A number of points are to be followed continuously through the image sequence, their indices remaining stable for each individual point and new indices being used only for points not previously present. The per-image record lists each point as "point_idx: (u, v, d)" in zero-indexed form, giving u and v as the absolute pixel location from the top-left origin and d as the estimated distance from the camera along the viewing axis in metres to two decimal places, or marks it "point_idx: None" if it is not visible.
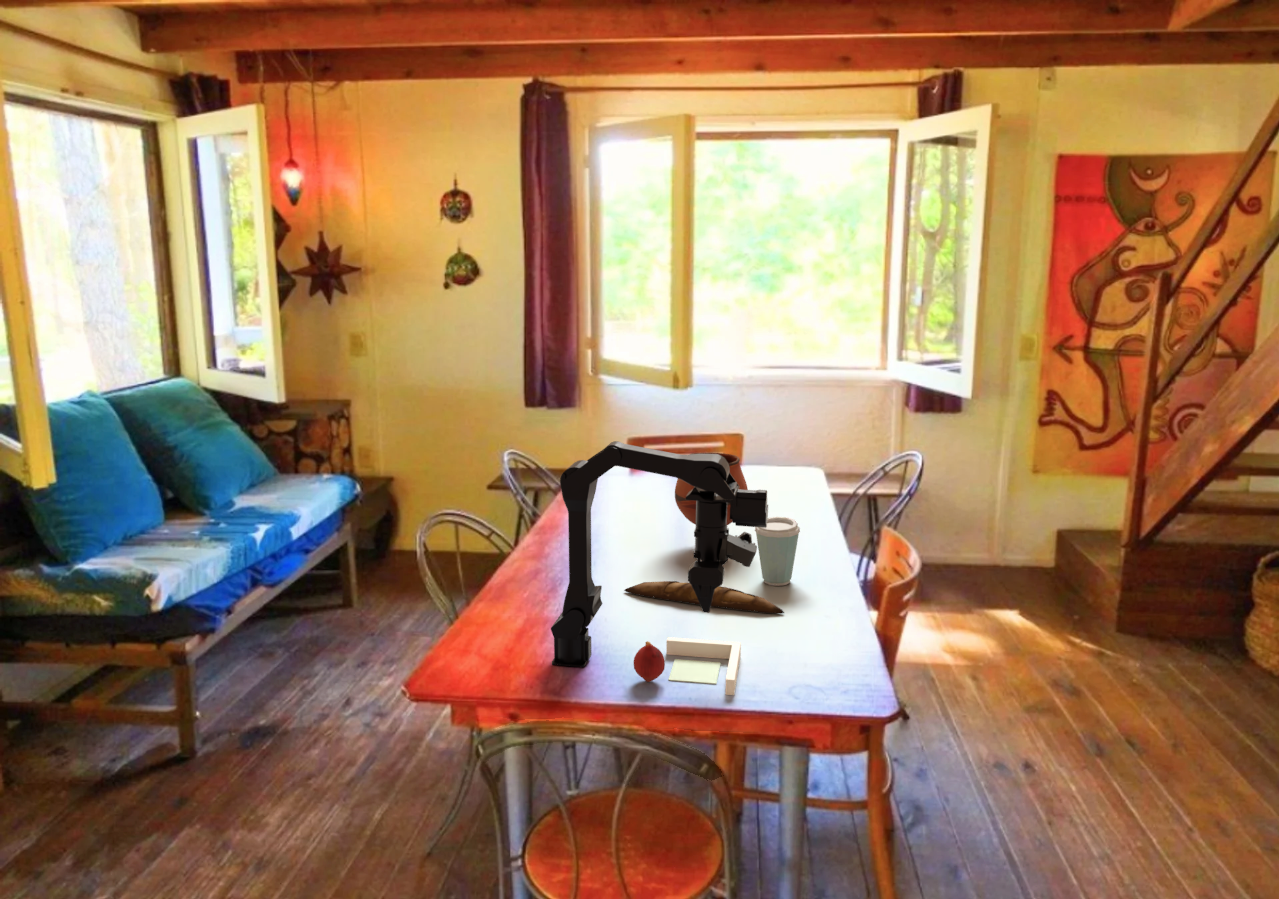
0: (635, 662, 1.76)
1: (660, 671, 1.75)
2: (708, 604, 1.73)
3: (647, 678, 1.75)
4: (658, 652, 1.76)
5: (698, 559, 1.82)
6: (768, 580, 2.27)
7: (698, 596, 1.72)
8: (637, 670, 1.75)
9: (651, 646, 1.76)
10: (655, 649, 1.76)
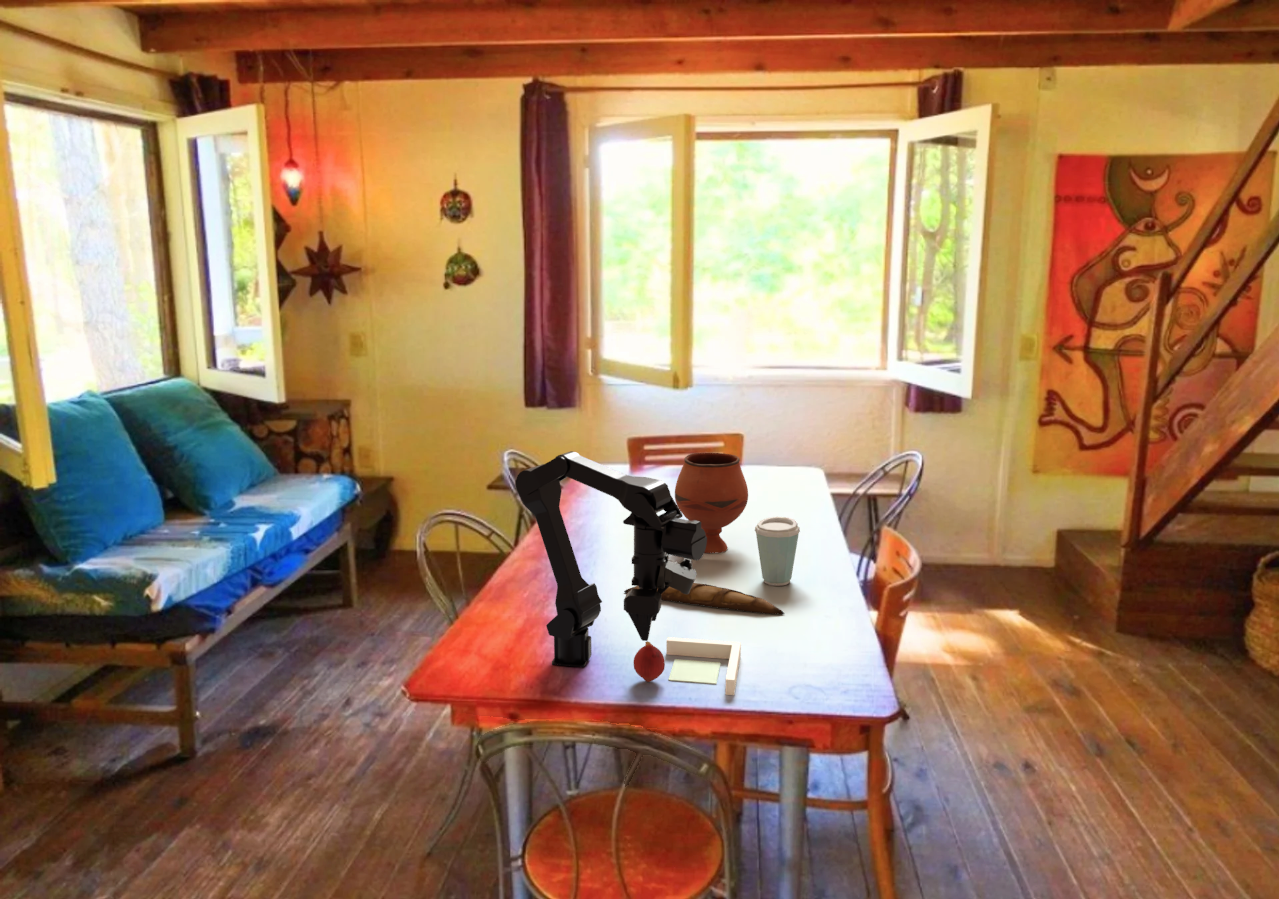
0: (635, 662, 1.76)
1: (660, 671, 1.75)
2: (646, 632, 1.70)
3: (647, 678, 1.75)
4: (658, 652, 1.76)
5: None
6: (768, 580, 2.27)
7: (636, 624, 1.70)
8: (637, 670, 1.75)
9: (651, 646, 1.76)
10: (655, 649, 1.76)
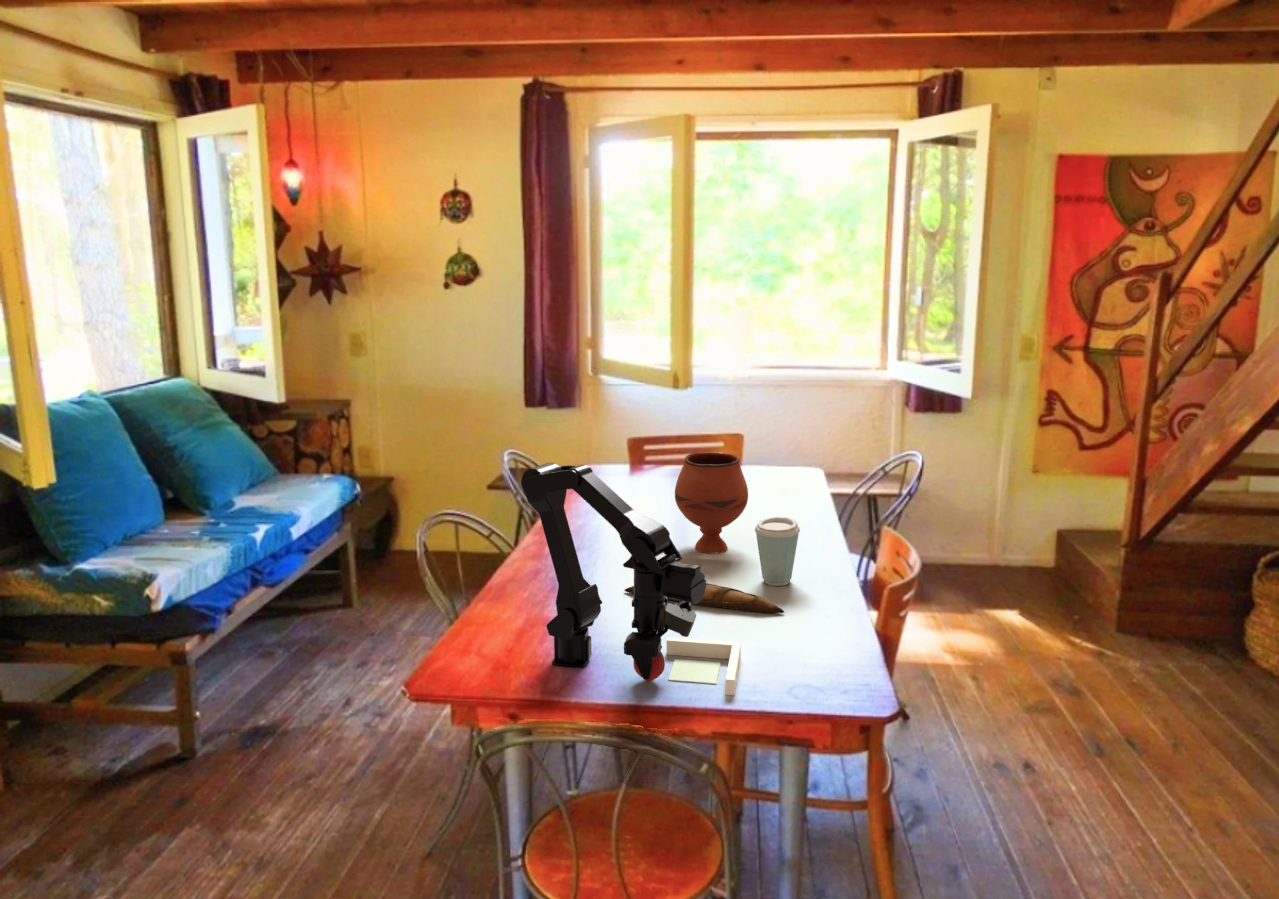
0: None
1: (660, 671, 1.75)
2: (647, 671, 1.73)
3: None
4: None
5: (638, 629, 1.80)
6: (768, 580, 2.27)
7: (637, 663, 1.73)
8: (637, 670, 1.75)
9: None
10: None
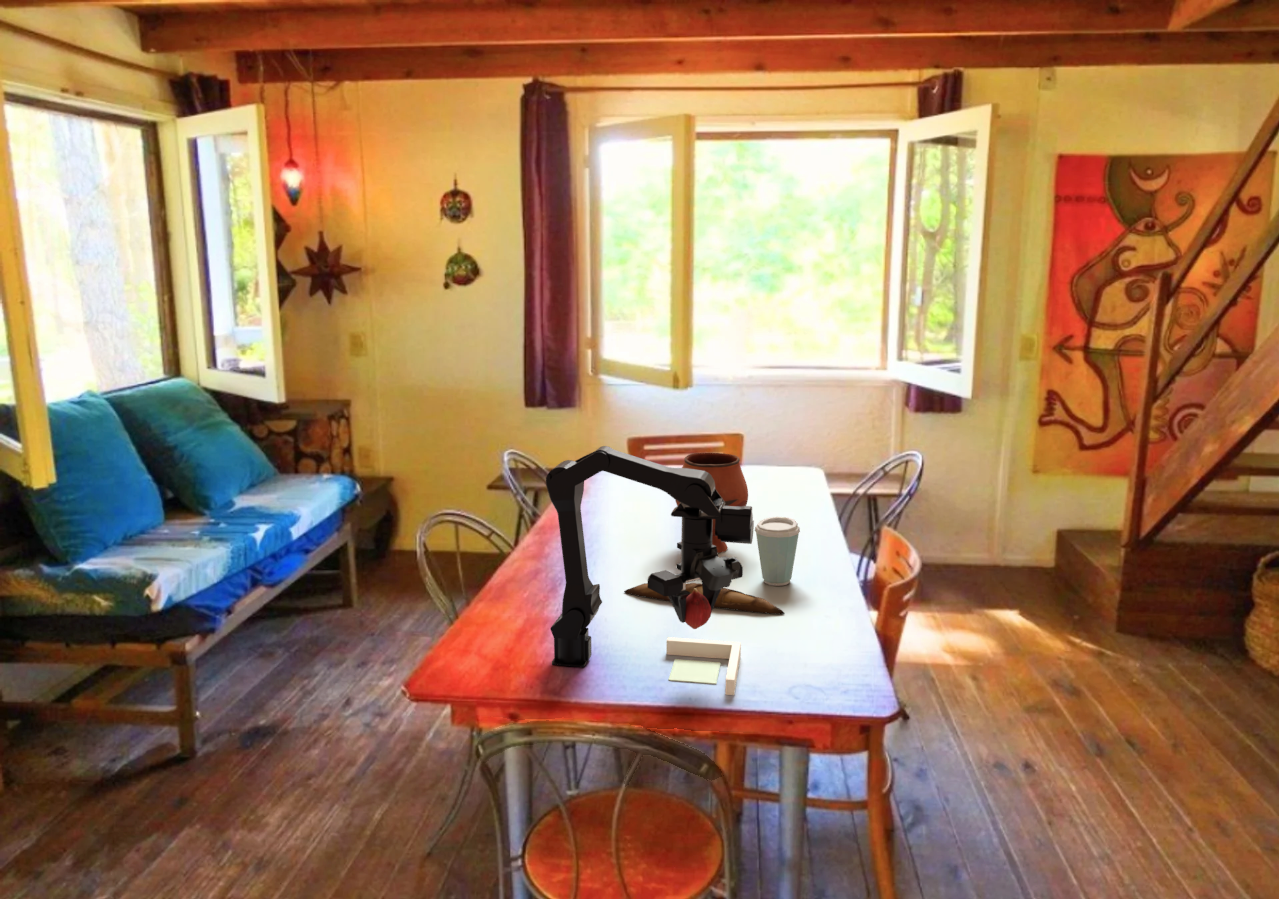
0: None
1: (697, 620, 1.76)
2: (680, 614, 1.76)
3: None
4: (700, 601, 1.77)
5: None
6: (768, 580, 2.27)
7: (672, 603, 1.77)
8: None
9: (696, 593, 1.78)
10: (698, 597, 1.77)
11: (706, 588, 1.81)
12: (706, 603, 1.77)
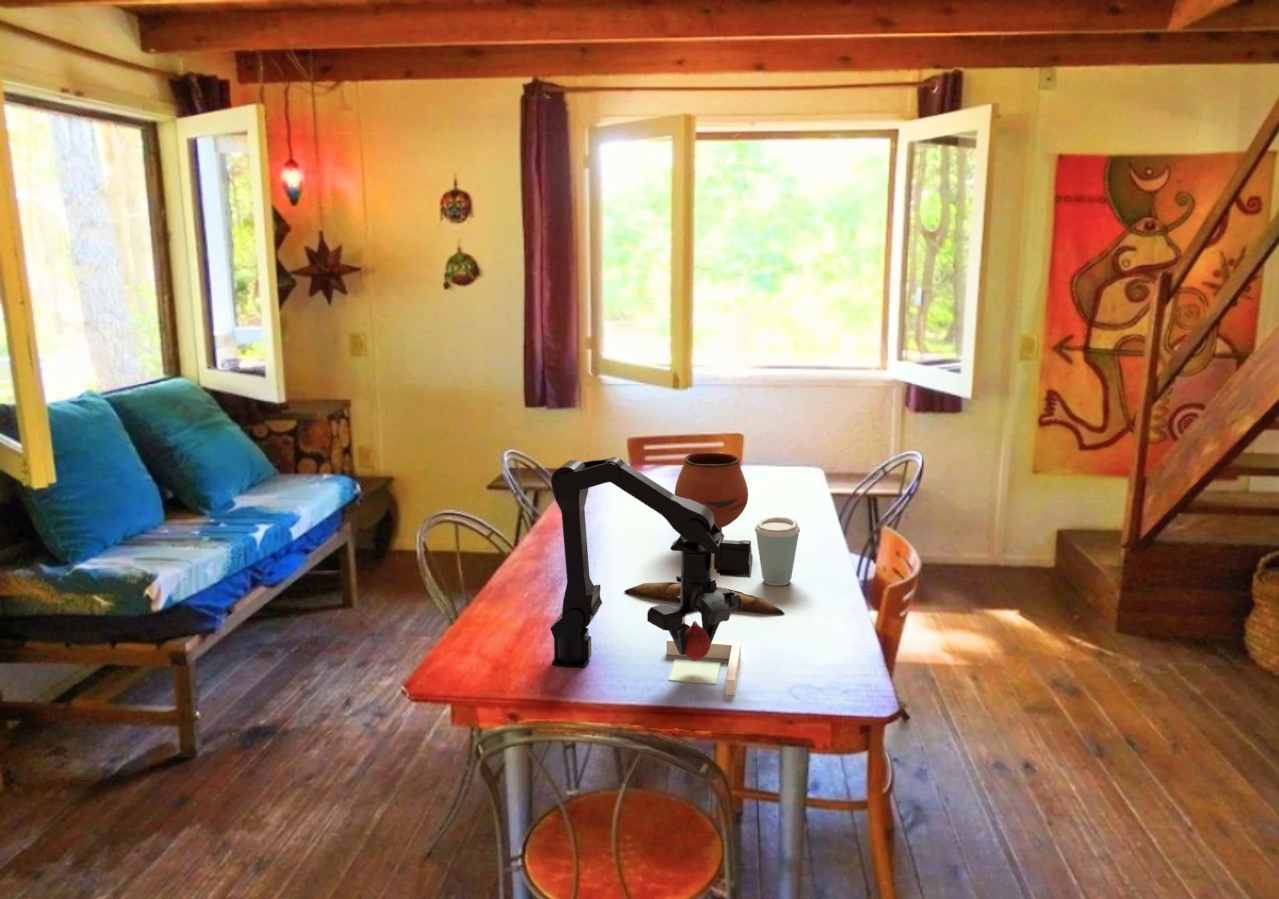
0: None
1: (696, 652, 1.78)
2: (680, 647, 1.78)
3: (686, 655, 1.80)
4: (699, 634, 1.78)
5: None
6: (768, 580, 2.27)
7: (672, 636, 1.79)
8: None
9: (695, 626, 1.79)
10: (698, 630, 1.79)
11: (705, 620, 1.82)
12: (705, 636, 1.79)
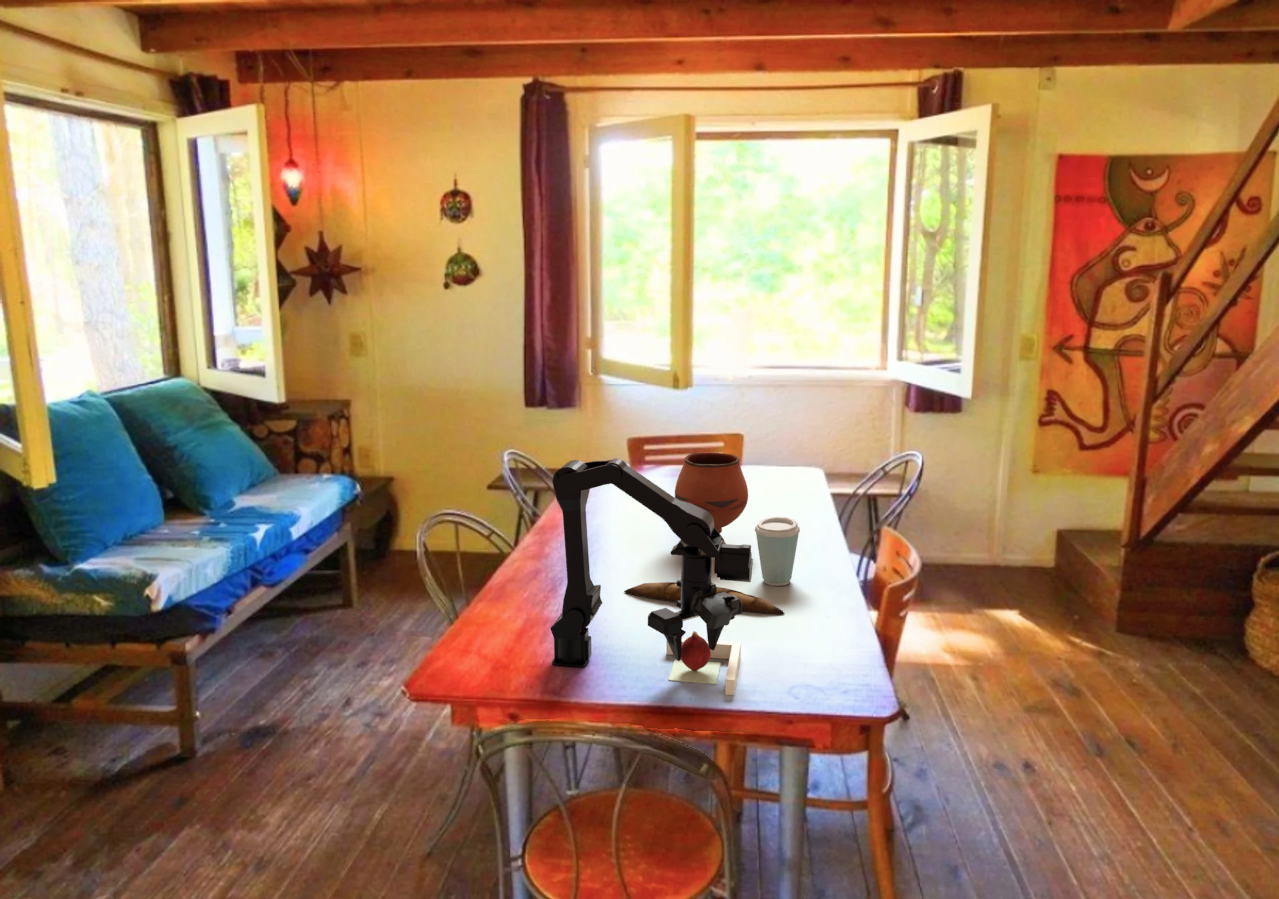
0: None
1: (696, 663, 1.78)
2: (676, 652, 1.77)
3: (686, 665, 1.80)
4: (699, 644, 1.79)
5: None
6: (768, 580, 2.27)
7: (668, 642, 1.78)
8: None
9: (695, 637, 1.79)
10: (698, 641, 1.79)
11: None
12: (705, 646, 1.79)
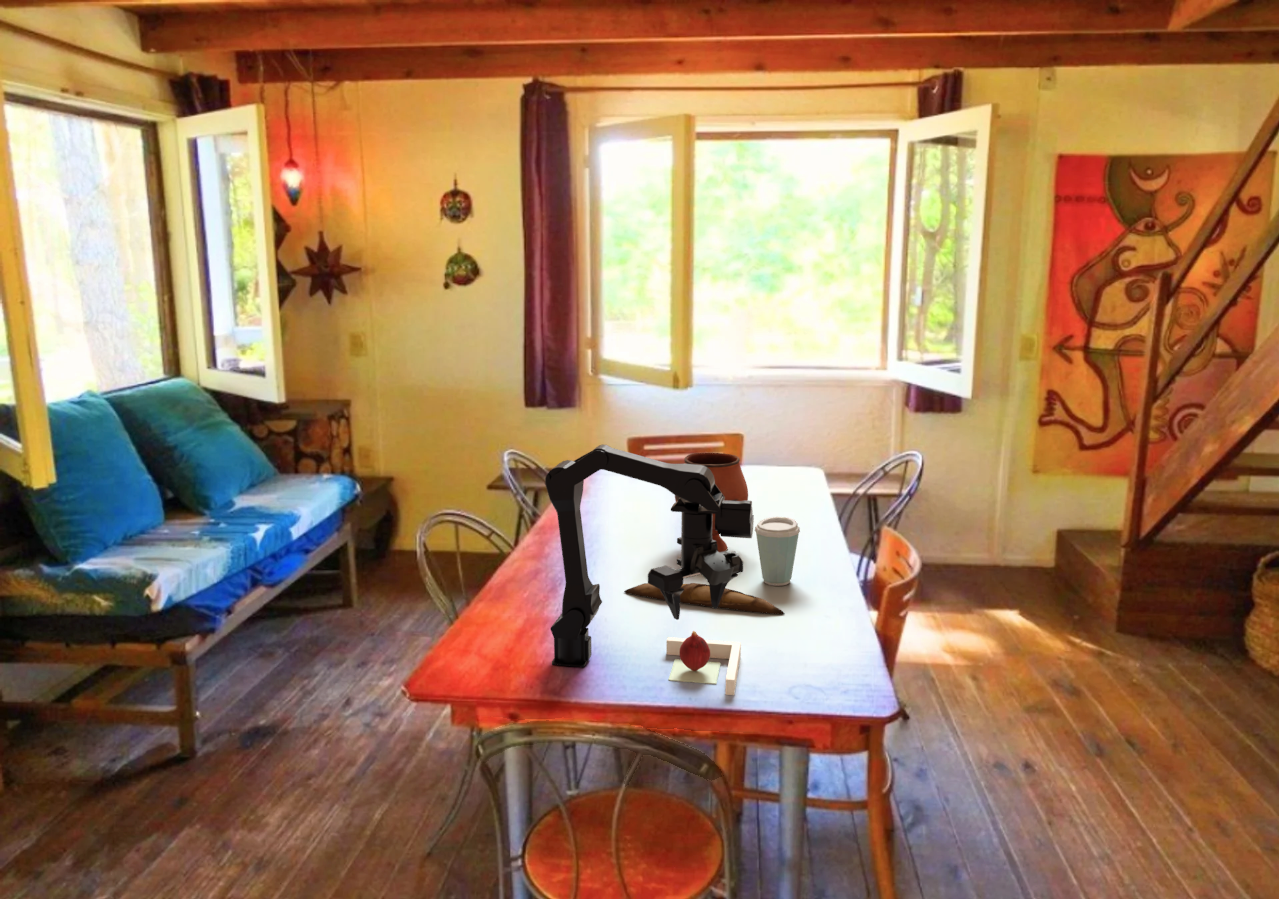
0: None
1: (696, 663, 1.78)
2: (674, 611, 1.75)
3: (686, 665, 1.80)
4: (699, 644, 1.79)
5: None
6: (768, 580, 2.27)
7: (666, 600, 1.76)
8: None
9: (694, 636, 1.79)
10: (697, 640, 1.79)
11: None
12: (705, 646, 1.79)
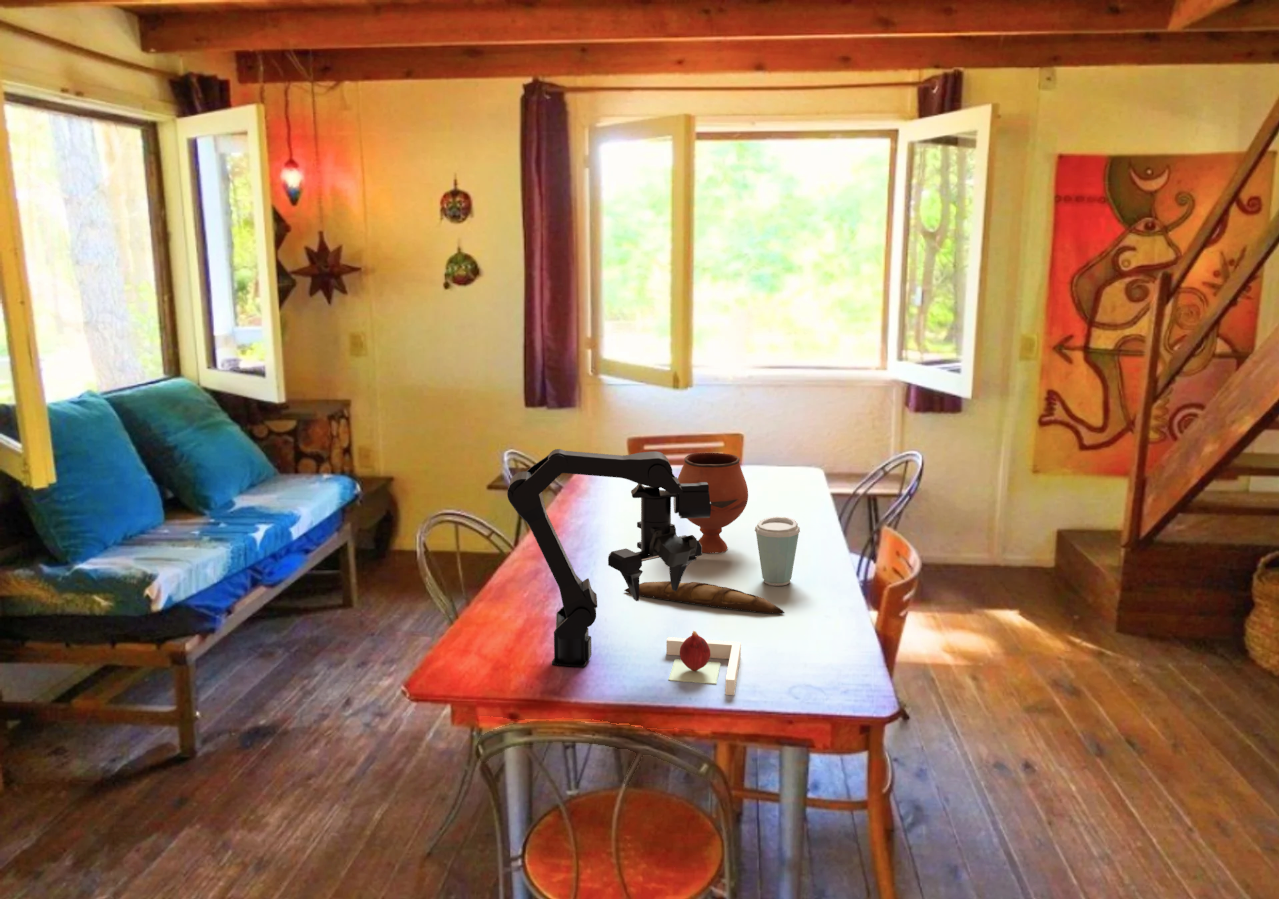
0: None
1: (696, 663, 1.78)
2: (634, 592, 1.81)
3: (686, 665, 1.80)
4: (699, 644, 1.79)
5: None
6: (768, 580, 2.27)
7: (626, 582, 1.82)
8: None
9: (695, 636, 1.79)
10: (697, 640, 1.79)
11: None
12: (705, 646, 1.79)
